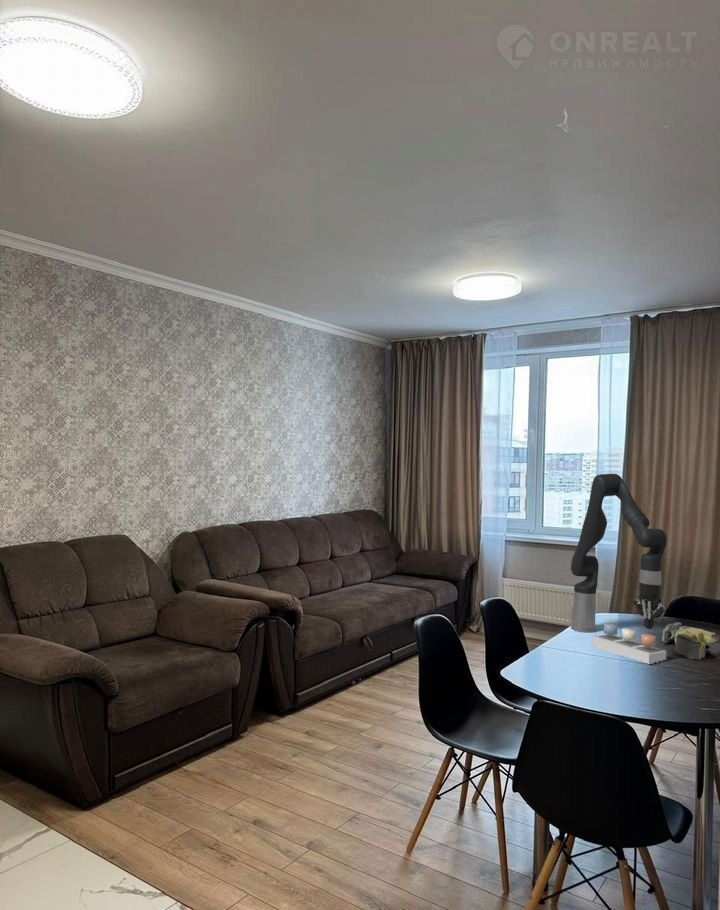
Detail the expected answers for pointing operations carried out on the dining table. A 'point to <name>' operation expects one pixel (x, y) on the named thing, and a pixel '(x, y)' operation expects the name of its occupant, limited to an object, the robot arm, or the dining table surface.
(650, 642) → the terracotta button
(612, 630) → the slate button
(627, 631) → the cream button
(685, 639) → the circular saw
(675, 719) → the dining table surface
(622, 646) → the console
